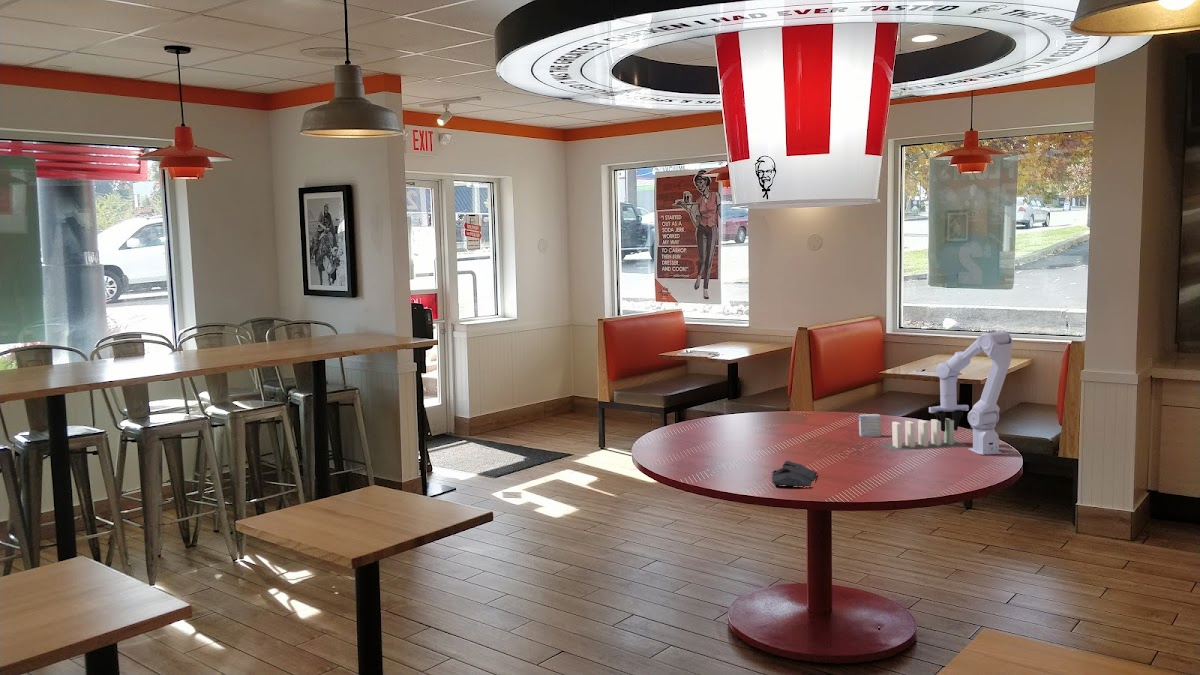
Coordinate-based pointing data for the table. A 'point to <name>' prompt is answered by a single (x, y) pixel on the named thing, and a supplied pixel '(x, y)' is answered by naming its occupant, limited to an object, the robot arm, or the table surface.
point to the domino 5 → (949, 431)
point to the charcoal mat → (918, 446)
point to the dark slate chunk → (793, 475)
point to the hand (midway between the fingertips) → (949, 430)
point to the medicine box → (870, 425)
